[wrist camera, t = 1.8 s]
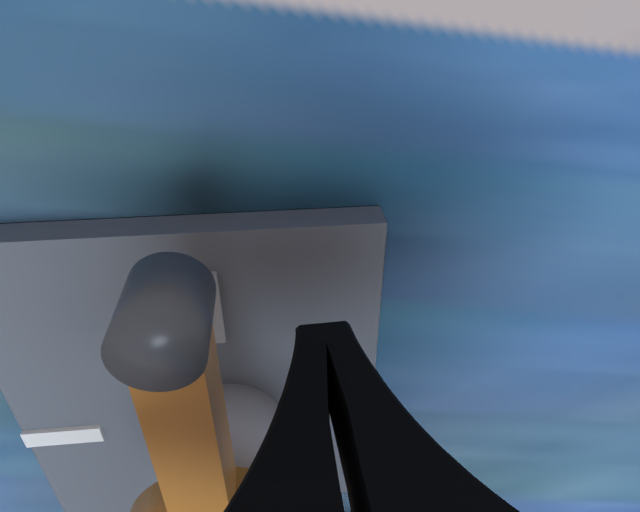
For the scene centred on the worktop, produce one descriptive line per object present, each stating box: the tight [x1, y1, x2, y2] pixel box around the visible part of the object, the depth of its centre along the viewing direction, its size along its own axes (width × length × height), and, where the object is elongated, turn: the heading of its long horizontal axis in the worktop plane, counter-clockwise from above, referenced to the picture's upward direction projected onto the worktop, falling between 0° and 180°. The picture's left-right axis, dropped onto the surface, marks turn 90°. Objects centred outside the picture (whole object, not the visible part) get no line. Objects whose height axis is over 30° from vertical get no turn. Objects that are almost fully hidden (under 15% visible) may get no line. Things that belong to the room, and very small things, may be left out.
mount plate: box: [0, 206, 387, 512], centre depth 18 cm, size 15×14×5 cm
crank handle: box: [101, 252, 249, 512], centre depth 14 cm, size 14×6×3 cm, turn 0°
